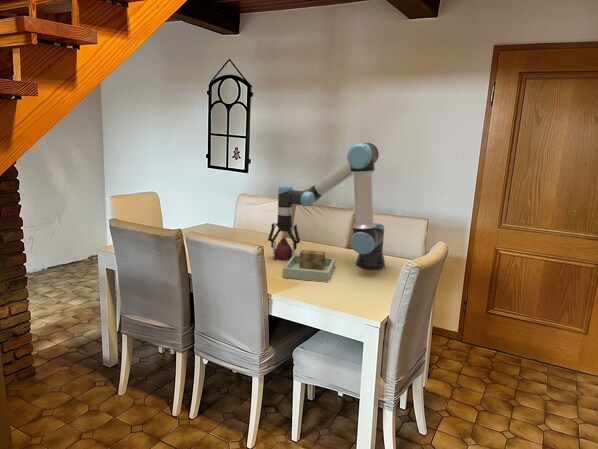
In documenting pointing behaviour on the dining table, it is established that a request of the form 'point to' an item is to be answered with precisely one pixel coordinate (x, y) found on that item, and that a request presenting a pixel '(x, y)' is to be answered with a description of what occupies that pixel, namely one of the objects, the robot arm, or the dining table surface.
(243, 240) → the dining table surface
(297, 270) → the tray
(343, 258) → the dining table surface
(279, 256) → the vegetable
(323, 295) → the dining table surface
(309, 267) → the walnut block
